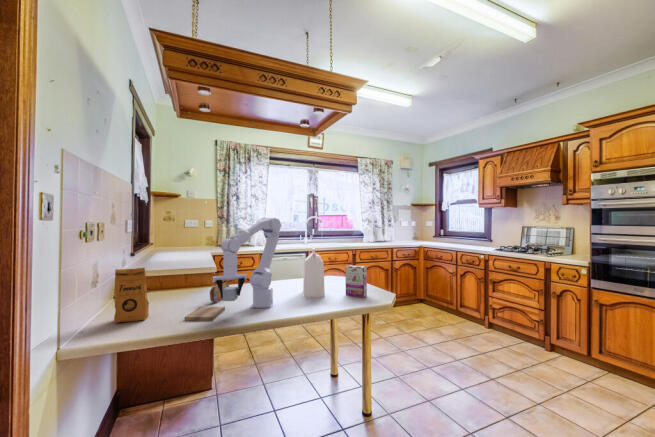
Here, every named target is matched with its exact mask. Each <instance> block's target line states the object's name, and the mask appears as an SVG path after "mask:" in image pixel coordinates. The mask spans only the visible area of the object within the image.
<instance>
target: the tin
mask: <svg viewBox="0 0 655 437" xmlns="http://www.w3.org/2000/svg"><path fill="white" fill-rule="evenodd" d="M222 283H223V287H222V291H223V289H225V288H226V287H230V286H229V284H228V283H227V282H222ZM209 300H210V302H212V303H219V302H221V301H223V298H221V294H220V290H219V288H218V285H217V284H216V285H213V286H211V288H210V290H209Z"/></svg>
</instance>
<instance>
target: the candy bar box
mask: <svg viewBox="0 0 655 437" xmlns="http://www.w3.org/2000/svg"><path fill="white" fill-rule="evenodd" d="M367 269H368V267H367V266H365V265H353V264H349V265H346V266H345V296H350V297H357V298H358V297H359V298H366V297H367V296H368V285H367V284H368V276H367V274H368V273H367V272H368V271H367Z"/></svg>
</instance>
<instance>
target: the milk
mask: <svg viewBox="0 0 655 437" xmlns="http://www.w3.org/2000/svg"><path fill="white" fill-rule="evenodd" d="M324 267H325V265H324V261H323V259H322V256H321V255H320V254H319V253H316V249H315V247H311V253H310V254H309V255H308V256H307V257H306V258H305V259H304V262H303V284H302V285H303V287H302V288H303V289H302V291H303V292H302V293H303V294H304V295H303V298H317V297H318V298H319V297H320V298H323V297H322V296H326V295H325V290H326V289H325V271H324V270H325V268H324Z"/></svg>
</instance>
